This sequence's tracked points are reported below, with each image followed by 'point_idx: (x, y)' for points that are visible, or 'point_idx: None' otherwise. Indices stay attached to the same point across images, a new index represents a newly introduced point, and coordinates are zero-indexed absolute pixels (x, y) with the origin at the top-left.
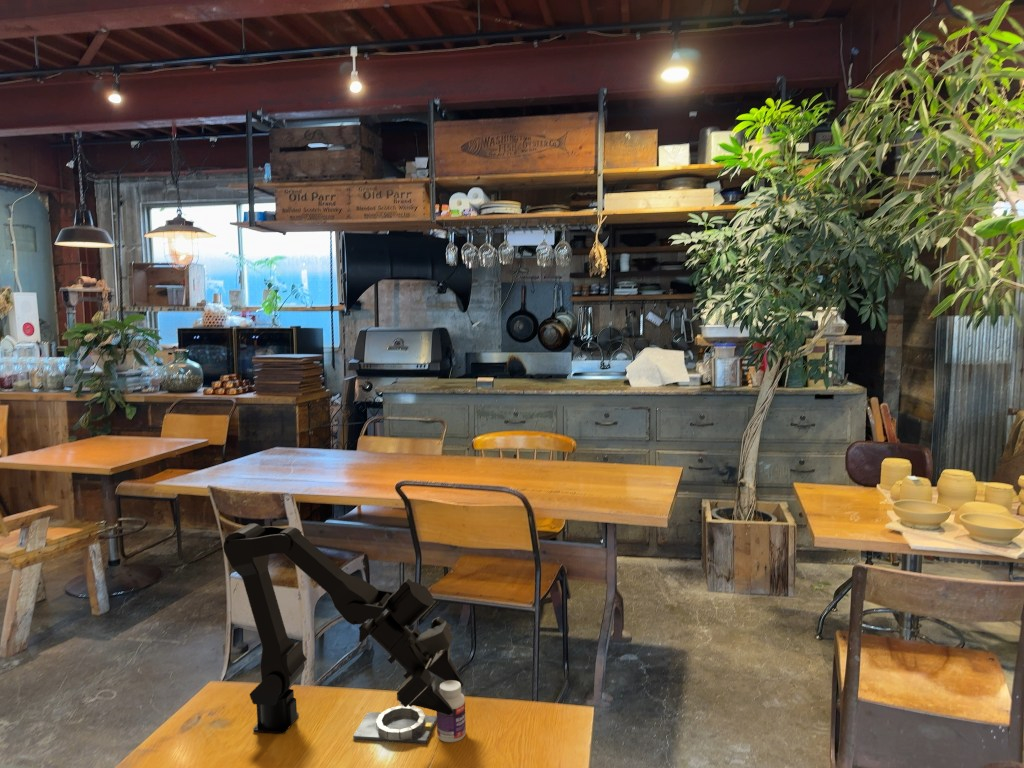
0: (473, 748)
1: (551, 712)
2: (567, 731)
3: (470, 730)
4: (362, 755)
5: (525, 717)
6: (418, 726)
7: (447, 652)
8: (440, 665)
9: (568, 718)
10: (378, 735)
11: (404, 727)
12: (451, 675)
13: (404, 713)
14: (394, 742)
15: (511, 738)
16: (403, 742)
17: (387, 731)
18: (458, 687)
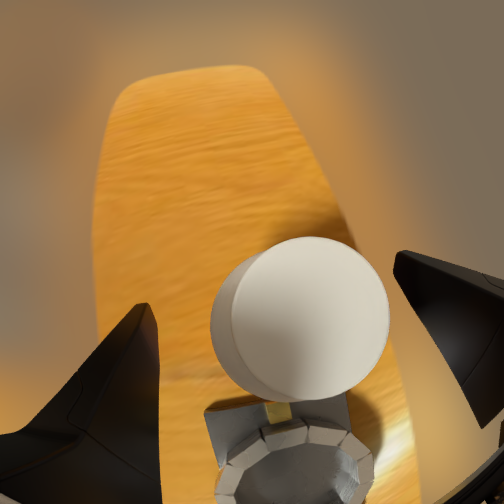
0: None
1: (112, 125)
2: (178, 87)
3: None
4: (406, 477)
5: (133, 162)
6: (324, 426)
7: (17, 475)
8: (124, 488)
9: (133, 97)
10: None
11: (299, 470)
12: (136, 383)
13: (238, 500)
14: None
15: (230, 163)
16: None
17: (370, 481)
18: (322, 243)
